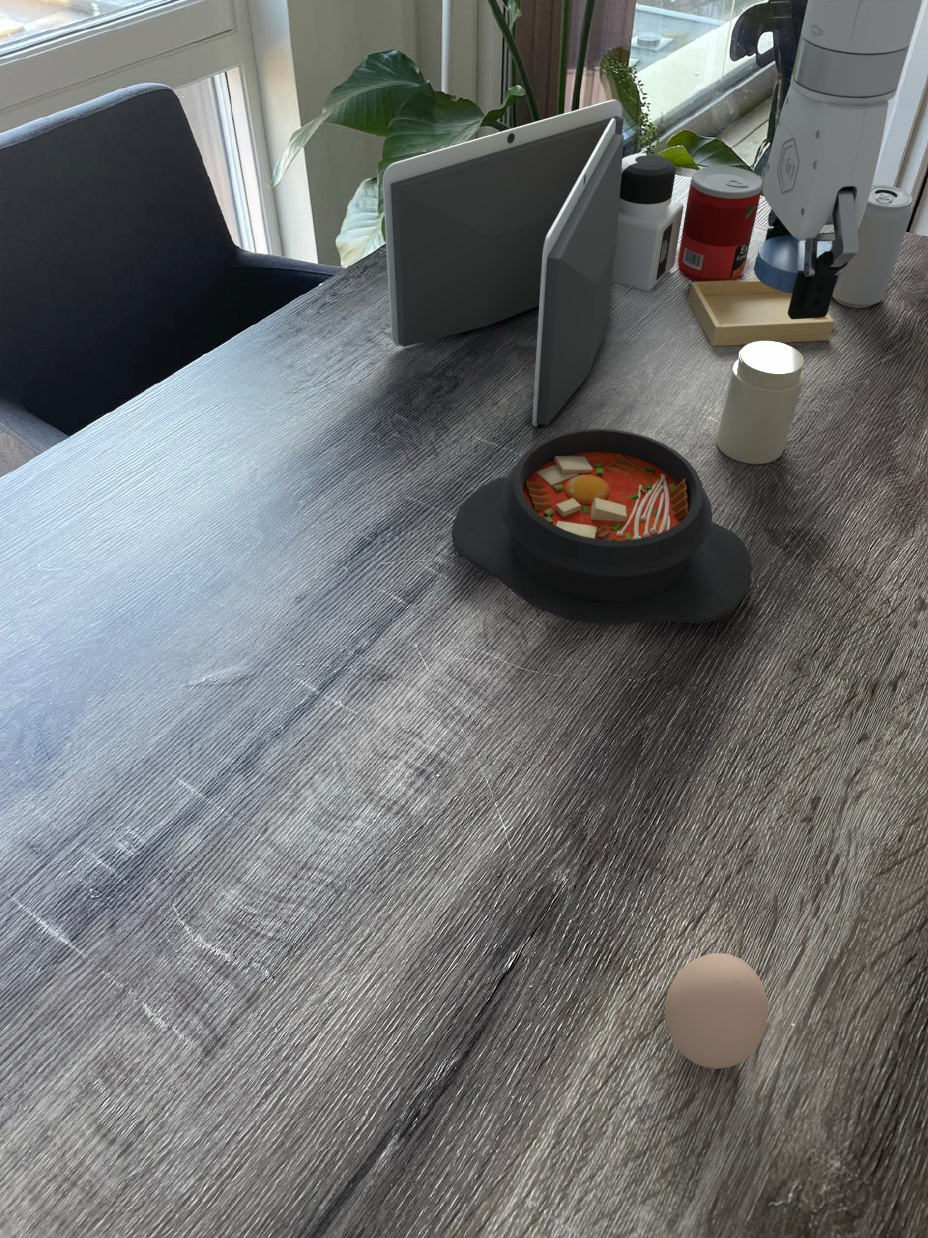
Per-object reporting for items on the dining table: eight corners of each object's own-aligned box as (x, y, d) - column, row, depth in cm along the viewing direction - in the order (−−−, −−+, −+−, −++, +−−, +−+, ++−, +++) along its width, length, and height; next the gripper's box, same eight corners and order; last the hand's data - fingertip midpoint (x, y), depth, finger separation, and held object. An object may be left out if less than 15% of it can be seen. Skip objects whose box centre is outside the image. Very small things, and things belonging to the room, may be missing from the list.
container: (674, 266, 121) (693, 155, 112) (649, 292, 116) (666, 179, 107) (616, 251, 124) (629, 141, 114) (589, 276, 119) (600, 164, 110)
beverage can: (886, 290, 118) (920, 188, 109) (877, 315, 114) (912, 211, 105) (831, 279, 119) (860, 178, 111) (820, 303, 115) (850, 200, 107)
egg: (743, 997, 58) (776, 930, 52) (756, 1091, 54) (793, 1031, 49) (652, 991, 58) (675, 923, 52) (659, 1085, 55) (683, 1023, 49)
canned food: (744, 288, 118) (765, 194, 110) (675, 282, 119) (691, 189, 111) (742, 258, 123) (761, 167, 115) (676, 253, 124) (691, 162, 116)
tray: (797, 295, 117) (802, 276, 115) (828, 340, 110) (834, 321, 108) (687, 300, 116) (690, 281, 114) (711, 346, 109) (715, 327, 107)
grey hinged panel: (570, 438, 97) (590, 242, 83) (358, 402, 100) (343, 210, 86) (626, 273, 120) (649, 99, 106) (453, 250, 124) (453, 79, 110)
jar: (771, 423, 99) (794, 336, 92) (792, 462, 94) (819, 374, 87) (708, 426, 98) (727, 340, 91) (726, 466, 94) (748, 378, 87)
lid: (746, 285, 83) (750, 264, 81) (763, 249, 87) (768, 229, 86) (830, 301, 81) (836, 280, 79) (844, 263, 85) (850, 243, 84)
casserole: (764, 531, 87) (787, 452, 81) (721, 681, 75) (745, 601, 69) (496, 465, 93) (499, 387, 87) (417, 593, 81) (414, 514, 75)
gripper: (760, 30, 78) (719, 249, 91) (841, 112, 66) (781, 350, 79) (853, 27, 79) (799, 245, 91) (950, 107, 67) (872, 345, 79)
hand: (791, 292), depth 85 cm, fingers closed on lid, 6 cm apart
